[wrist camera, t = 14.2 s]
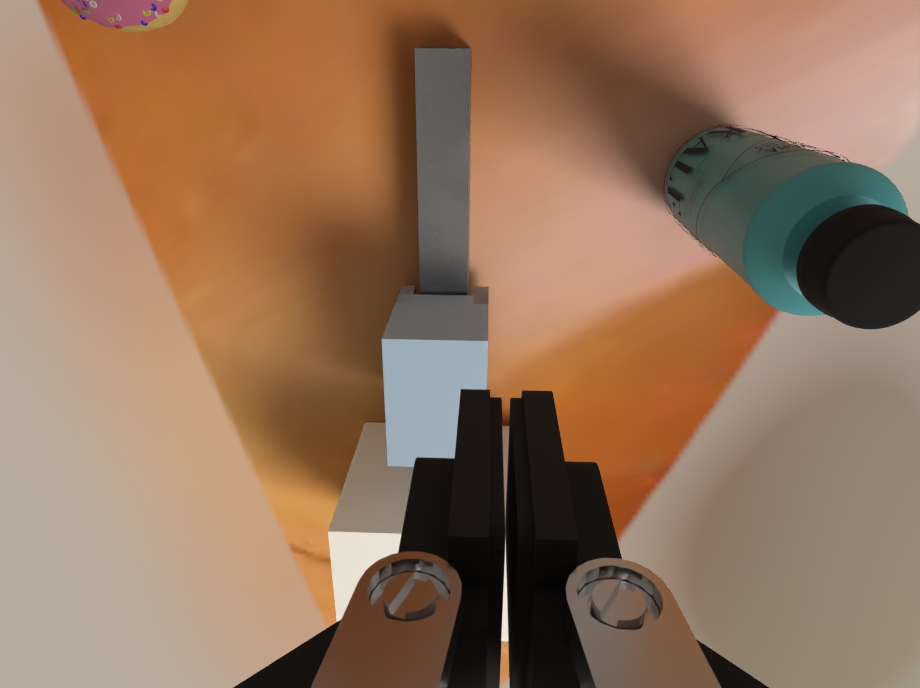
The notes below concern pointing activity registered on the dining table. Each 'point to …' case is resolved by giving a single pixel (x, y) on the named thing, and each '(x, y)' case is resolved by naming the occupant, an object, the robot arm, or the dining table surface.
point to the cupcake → (129, 13)
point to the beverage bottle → (800, 226)
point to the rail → (443, 168)
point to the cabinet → (377, 515)
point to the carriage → (431, 370)
